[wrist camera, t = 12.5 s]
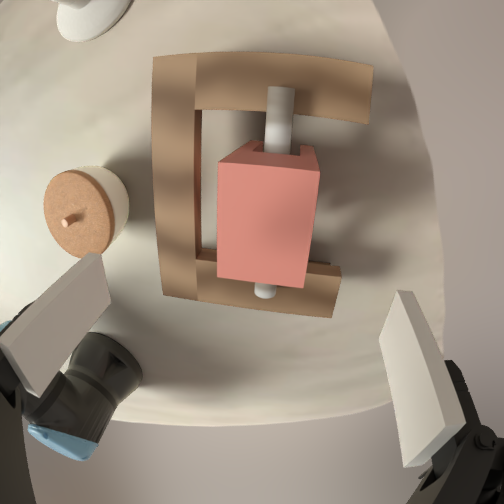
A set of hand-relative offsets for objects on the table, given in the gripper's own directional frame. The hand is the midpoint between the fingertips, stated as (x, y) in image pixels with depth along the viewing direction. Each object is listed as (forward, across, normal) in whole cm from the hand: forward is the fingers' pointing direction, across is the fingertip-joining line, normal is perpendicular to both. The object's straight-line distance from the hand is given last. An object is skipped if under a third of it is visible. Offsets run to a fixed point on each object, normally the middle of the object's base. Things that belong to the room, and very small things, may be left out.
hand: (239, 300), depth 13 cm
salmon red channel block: (+19, 0, 0) cm, 19 cm away
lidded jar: (+23, +22, +4) cm, 32 cm away
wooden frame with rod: (+22, +2, 0) cm, 22 cm away
